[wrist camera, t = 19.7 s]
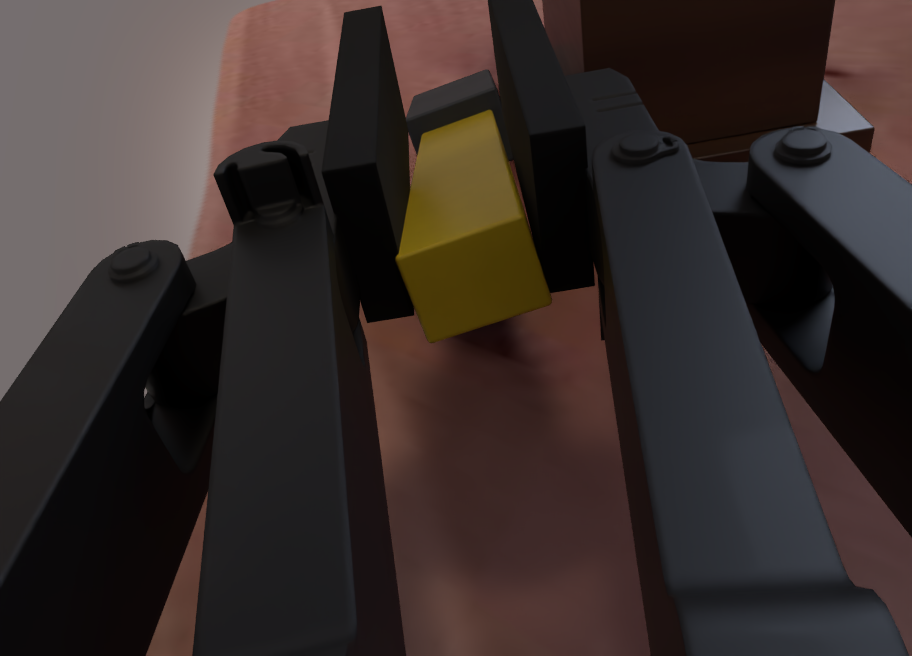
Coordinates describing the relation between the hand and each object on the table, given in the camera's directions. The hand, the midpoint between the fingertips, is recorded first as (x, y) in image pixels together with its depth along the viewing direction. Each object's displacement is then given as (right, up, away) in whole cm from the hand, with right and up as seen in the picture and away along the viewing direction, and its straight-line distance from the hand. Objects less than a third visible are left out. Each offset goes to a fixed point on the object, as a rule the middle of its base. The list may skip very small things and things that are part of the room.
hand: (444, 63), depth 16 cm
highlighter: (+1, -3, +2) cm, 4 cm away
